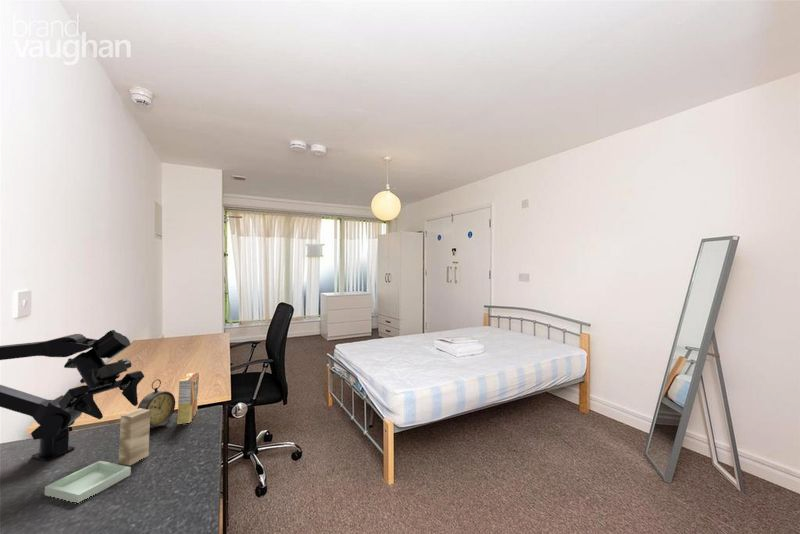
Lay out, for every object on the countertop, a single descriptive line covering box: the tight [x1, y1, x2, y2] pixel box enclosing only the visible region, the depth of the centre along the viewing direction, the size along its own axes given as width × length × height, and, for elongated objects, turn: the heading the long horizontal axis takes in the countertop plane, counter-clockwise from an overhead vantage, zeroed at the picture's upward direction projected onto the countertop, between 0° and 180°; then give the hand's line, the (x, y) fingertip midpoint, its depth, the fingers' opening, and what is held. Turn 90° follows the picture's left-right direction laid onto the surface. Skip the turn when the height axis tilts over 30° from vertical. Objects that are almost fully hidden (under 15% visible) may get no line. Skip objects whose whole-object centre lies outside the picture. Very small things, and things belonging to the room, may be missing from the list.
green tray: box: [44, 460, 132, 504], centre depth 78 cm, size 11×11×2 cm
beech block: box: [118, 408, 151, 467], centre depth 89 cm, size 4×5×13 cm
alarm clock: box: [136, 378, 176, 428], centre depth 108 cm, size 11×5×16 cm, turn 168°
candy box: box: [176, 372, 200, 425], centre depth 115 cm, size 9×4×15 cm, turn 19°
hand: (119, 411), depth 91 cm, fingers open, 9 cm apart
